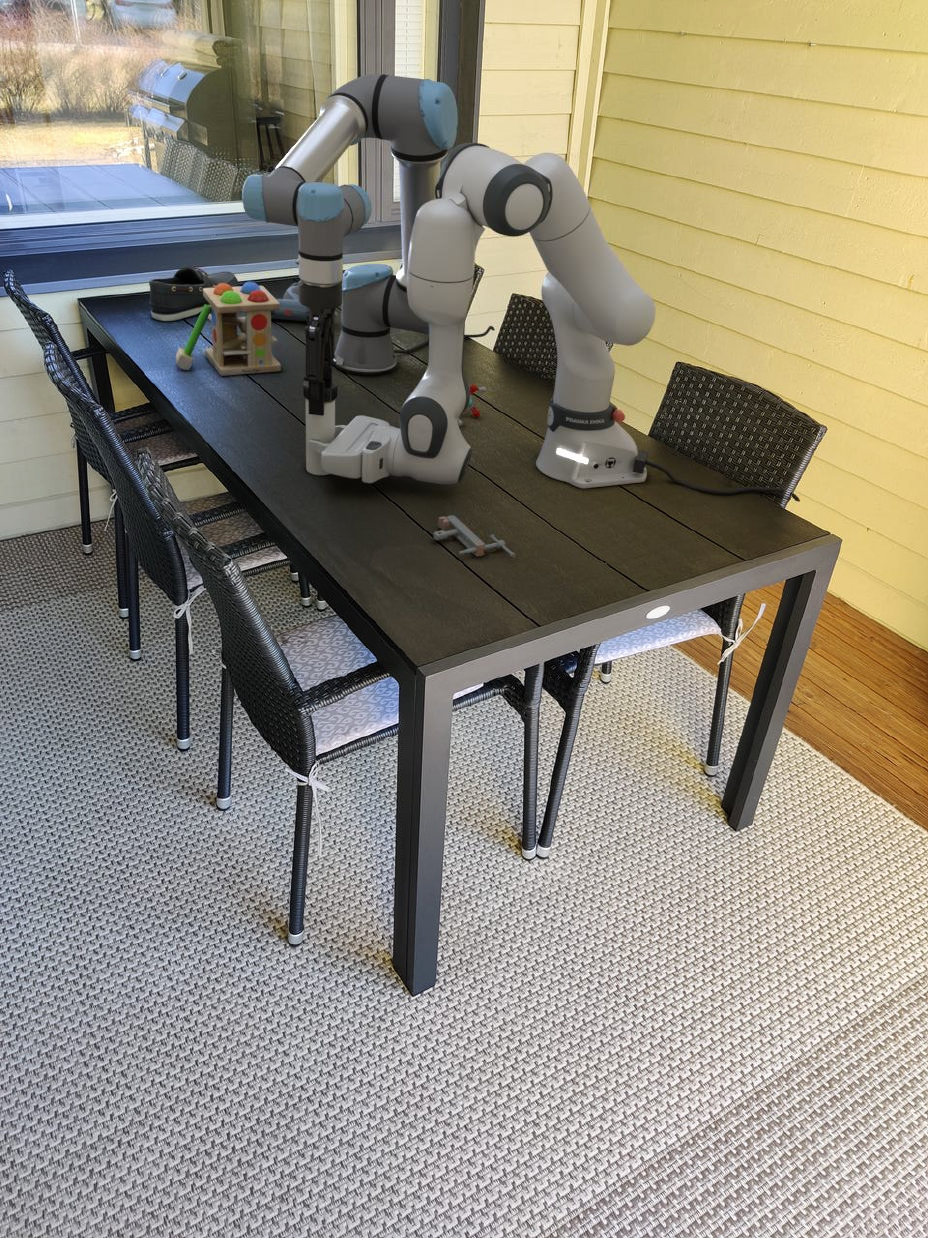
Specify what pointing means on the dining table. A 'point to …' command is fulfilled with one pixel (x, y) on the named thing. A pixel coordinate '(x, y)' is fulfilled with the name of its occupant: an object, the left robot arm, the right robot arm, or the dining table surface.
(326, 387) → the lid
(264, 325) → the pounding bench toy
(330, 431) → the jar
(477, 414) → the molecular model
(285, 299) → the power drill
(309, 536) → the dining table surface
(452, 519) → the clamp
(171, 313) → the boat shoe
